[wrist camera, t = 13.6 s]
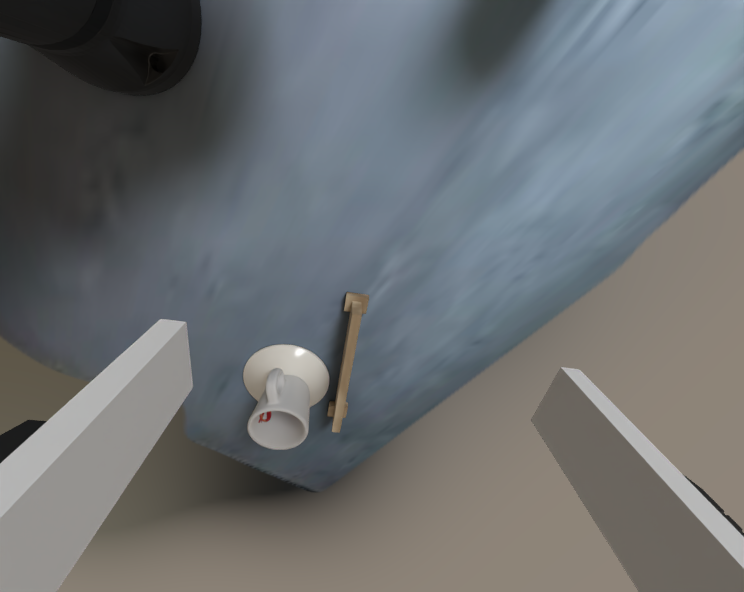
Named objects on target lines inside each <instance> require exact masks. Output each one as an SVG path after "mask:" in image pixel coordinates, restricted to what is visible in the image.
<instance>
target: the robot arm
mask: <svg viewBox="0 0 744 592" xmlns="http://www.w3.org/2000/svg"><path fill="white" fill-rule="evenodd" d="M200 35H201V6H200V0H0V37H4V38H7V39H10V40H14V41H17V42H21V43H25V44H28V45H30V46H31V47H33V48H34V49H36V50H37V51H39V52H40V53H41V54H43V55H44V56H46V57H47V58H49V59H50V60H52V61H53V62H55V63H56V64H58V65H59V66H61V67H62V68H64V69H65V70H66V71H68V72H69V73H71V74H73V75H74V76H76V77H78V78H80V79H82V80H83V81H86V82H88V83H90V84H92V85H95V86H97V87H100V88H103V89H106V90H110V91H114V92H119V93H123V94H129V95H152V94H156V93H160V92H163V91H165V90H167V89H169V88H171V87H172V86H174V85H175V84H176V83H178V82H179V81H180V80H181V79H182V78H183V77H184V75H185V74H186V73H187V72H188V70H189V69H190V67H191V65H192V63H193V61H194V59H195V56H196V53H197V50H198V46H199V42H200ZM192 388H193V382H192V372H191V363H190V353H189V344H188V334H187V324H186V322H182V321H174V320H165V319H160V320H159V321H158V322H157V323H156V324H154V325H153V326H152V327H151V328H150V329H149V330H148V331H147V332H146V333H145V334H143V335H142V336H141V337H140V338H139V339H138V340H137V341H136V342H135V343H133V344H132V345H131V346H130V347H129V348H128V349H127V350H126V351H125V352H123V353H122V354H121V355H120V356H119V357H118V358H117V359H116V360H115V361H113V362H112V363H111V364H110V365H109V366H108V367H107V368H106V369H105V370H103V371H102V372H101V373H100V374H99V375H98V376H97V377H96V378H95V379H93V380H92V381H91V382H90V383H89V384H88V385H87V386H86V387H85V388H83V389H82V390H81V391H80V392H79V393H78V394H77V395H76V396H75V397H74V398H72V399H71V400H70V401H69V402H68V403H67V404H66V405H65V406H64V407H62V408H61V409H60V410H59V411H58V412H57V413H56V414H55V415H54V416H52V417H51V418H50V419H49V420H48V421H35V420H27V421H26V422H24V423H22V424H20V425H18V426H16V427H15V428H13V429H11V430H9V431H7V432H5V433H4V434H2V435H0V592H57V590H58V589H59V587H60V586H61V584H62V583H63V581H64V579H65V578H66V577H67V575H68V574H69V572H70V571H71V569H72V568H73V566H74V565H75V563H76V562H77V560H78V559H79V557H80V556H81V554H82V553H83V551H84V550H85V548H86V547H87V545H88V544H89V542H90V541H91V539H92V538H93V536H94V535H95V533H96V532H97V530H98V529H99V527H100V526H101V524H102V523H103V521H104V520H105V518H106V517H107V515H108V514H109V512H110V511H111V509H112V508H113V506H114V505H115V503H116V502H117V500H118V499H119V497H120V496H121V494H122V493H123V491H124V490H125V488H126V487H127V485H128V484H129V482H130V481H131V479H132V477H133V476H134V474H135V473H136V472H137V470H138V469H139V467H140V466H141V464H142V463H143V461H144V460H145V458H146V457H147V455H148V454H149V452H150V451H151V449H152V448H153V446H154V445H155V443H156V442H157V440H158V439H159V437H160V436H161V434H162V433H163V431H164V430H165V428H166V427H167V425H168V424H169V422H170V421H171V419H172V418H173V416H174V415H175V413H176V412H177V410H178V409H179V407H180V406H181V404H182V403H183V401H184V400H185V398H186V397H187V395H188V394H189V392H190V391H191V389H192ZM531 421H532V423H533V424H534V426H535V427H536V429H537V431H538V432H539V434H540V435H541V437H542V439H543V440H544V442H545V443H546V445H547V447H548V448H549V450H550V451H551V453H552V454H553V456H554V458H555V459H556V461H557V462H558V464H559V466H560V467H561V469H562V470H563V472H564V474H565V475H566V477H567V478H568V480H569V481H570V483H571V485H572V486H573V488H574V490H575V491H576V493H577V494H578V496H579V497H580V499H581V501H582V502H583V504H584V505H585V507H586V508H587V510H588V512H589V513H590V515H591V517H592V518H593V520H594V521H595V523H596V524H597V526H598V528H599V529H600V531H601V532H602V534H603V536H604V537H605V539H606V540H607V542H608V544H609V545H610V546H611V548H612V550H613V552H614V553H615V555H616V556H617V558H618V560H619V561H620V563H621V564H622V566H623V567H624V569H625V571H626V572H627V574H628V575H629V577H630V579H631V580H632V582H633V583H634V585H635V587H636V588H637V590H638V591H639V592H744V533H743V532H742V529H741V528H740V527H739V526H738V525H737V524H736V522H735V521H733V520H732V519H731V518H730V516H728V515H725V514H724V510H723V509H721V508H720V506H718V504H717V503H716V502H715V501H714V500H713V499H711V497H709V495H708V494H706V492H705V491H703V489H701V488H700V487H699V486H697V485H696V484H695V483H693V482H692V481H691V480H689V479H688V478H687V477H686V476H684V475H683V474H682V473H681V472H679V470H678V469H676V467H675V466H674V465H673V464H672V463H671V462H670V461H669V460H668V459H667V458H666V457H665V456H664V455H663V454H662V453H661V452H660V451H659V450H658V449H657V448H656V447H655V446H654V445H653V444H652V443H651V442H650V441H649V440H648V439H647V438H646V437H645V436H644V435H643V434H642V433H641V432H640V431H639V430H638V429H637V428H636V427H635V426H634V425H633V424H632V423H631V422H630V421H629V420H628V418H626V416H625V415H624V414H623V413H622V412H621V411H620V410H619V409H618V408H617V407H616V406H615V405H614V404H613V403H612V402H611V401H610V400H609V399H608V398H607V397H606V396H605V395H604V394H603V393H602V392H601V391H600V390H599V389H598V388H597V387H596V386H595V385H594V384H593V383H592V382H591V381H590V380H589V379H588V378H587V377H586V376H585V375H584V374H583V373H582V372H581V371H580V370H579V369H571V368H563V367H561V368H560V370H559V371H558V373H557V375H556V377H555V378H554V380H553V382H552V384H551V385H550V387H549V389H548V391H547V392H546V394H545V396H544V398H543V399H542V401H541V403H540V405H539V406H538V408H537V410H536V412H535V414H534V415H533V417H532V419H531Z"/></svg>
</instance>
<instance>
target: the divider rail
mask: <svg viewBox="0 0 744 592" xmlns="http://www.w3.org/2000/svg"><path fill="white" fill-rule="evenodd" d="M368 300H369V295H365V294H358V293H351V292H347V293H346V300H345V306H344V311H348V312H350V316H349V322H348V328H347V334H346V339H345V345H344V351H343V357H342V363H341V369H340V375H339V381H338V387H337V393H336V399H335V401H329V408H328V415H327V416H330V417H333V424H332V432H340V428H341V423H342V418H346V413H347V408H348V403H347V402H346V396H347V391H348V386H349V380H350V375H351V370H352V365H353V359H354V354H355V349H356V343H357V338H358V333H359V327H360V322H361V317H362V313H363V314H366V311H367V306H368Z"/></svg>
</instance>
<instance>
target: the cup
mask: <svg viewBox="0 0 744 592" xmlns="http://www.w3.org/2000/svg"><path fill="white" fill-rule="evenodd" d="M309 408H310V391H309V388H308V385H307V384H306V383H305V381H303V380H302V379H301V378H299V377H297V376H294V375H284V373H283V371H282V369H280V368H275V369H272V370H271V371H270V373H269V375H268V377H267V381H266V388H265V390H264V392H263V394H262V396H261V398H260V400H259V401H258V403H257V405H256V407H255V409H254V411H253V413H252V415H251V417H250V418H249V421H248V425H247V428H248V433H249V435H250V436H251V438H252V439H253V440H254V441H255V442H256V443H258V444H259V445H261V446H263V447H266V448H270V449H275V450H285V449H290V448H293V447H295V446H298V445H299V444H301V443H302V442H303V441H304V440H305V438H306V436H307V434H308V429H309Z"/></svg>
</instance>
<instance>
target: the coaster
mask: <svg viewBox="0 0 744 592" xmlns="http://www.w3.org/2000/svg"><path fill="white" fill-rule="evenodd" d="M275 368H280V369H282V371H283V373H284V375H294V376H297V377H299V378H301V379H302V380H303V381H305V383H306V384H307V385H308V388H309V391H310V407H311V406H313V405H315V404H316V403H318V402H319V401H320V400H321V399H322V398H323V397H324V395H325V394H326V392H327V390H328V387H329V373H328V370H327V367H326V365H325V364H324V362H323V361H322V360H321V359H320V358H319V357H318V356H317V355H316V354H314V353H313V352H311V351H309V350H307V349H305V348H303V347H300V346H296V345H290V344H276V345H271V346H267V347H265V348H262V349H260V350H259V351H257V352H256V353H254V354H253V355H252V356H251V357H250V358H249V360H248V361H247V363H246V365H245V368H244V371H243V380H244V384H245V386H246V388H247V390H248V392H249V393H250V394H251V395H252V396H253V397H254V398H255V399H256V400H257V401H259V400H260V398H261V396H262V394H263V392H264V390H265V388H266V381H267V377H268V375H269V373H270V371H271V370H272V369H275Z"/></svg>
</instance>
